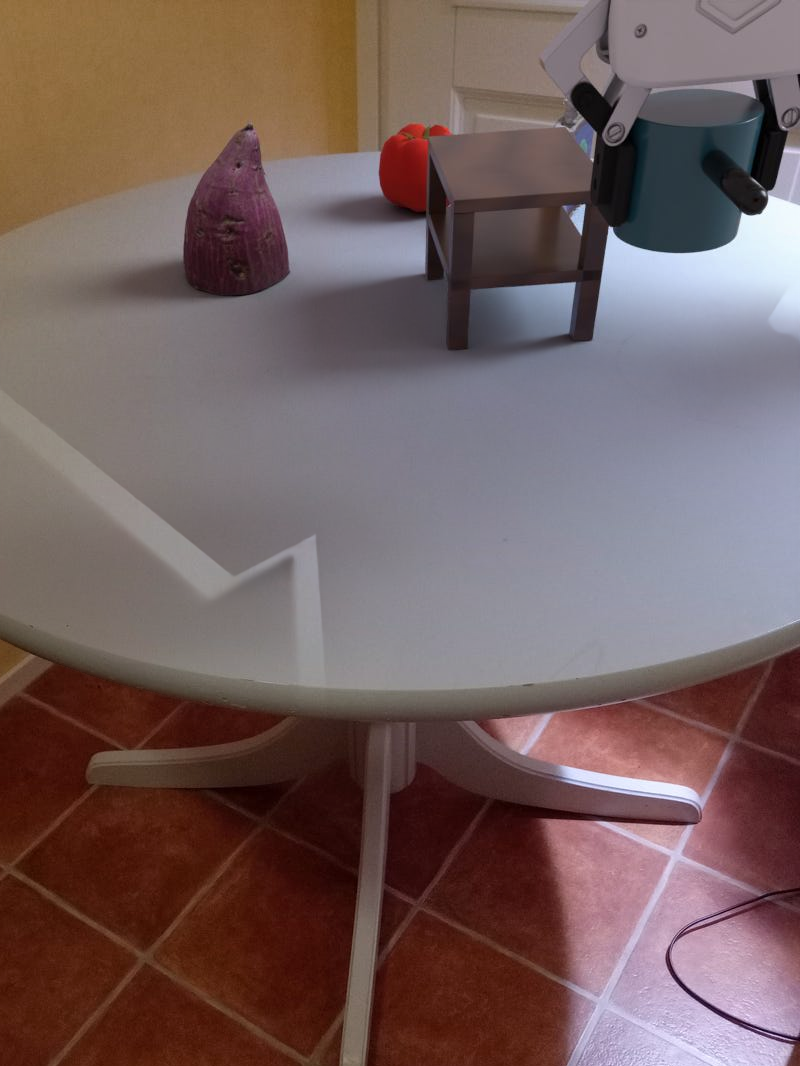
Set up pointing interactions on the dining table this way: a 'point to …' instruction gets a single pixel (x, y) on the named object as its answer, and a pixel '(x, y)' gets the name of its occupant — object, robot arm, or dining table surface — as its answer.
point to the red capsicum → (407, 166)
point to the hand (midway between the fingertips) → (677, 208)
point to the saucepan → (692, 170)
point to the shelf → (512, 220)
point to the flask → (576, 135)
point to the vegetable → (235, 224)
